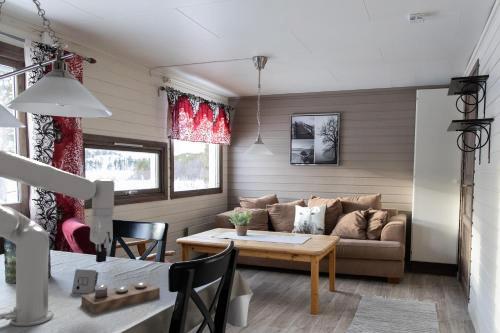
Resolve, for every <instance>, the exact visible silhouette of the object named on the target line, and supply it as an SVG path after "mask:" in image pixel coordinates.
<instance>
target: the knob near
mask: <svg viewBox="0 0 500 333" xmlns="http://www.w3.org/2000/svg"><path fill="white" fill-rule="evenodd" d="M107 290H109V288H108V284H106V283H101V284H97V285H96V286H95V291H94V293H95V298H97V299H101V298H106V297H107Z"/></svg>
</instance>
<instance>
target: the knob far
mask: <svg viewBox="0 0 500 333" xmlns="http://www.w3.org/2000/svg"><path fill="white" fill-rule="evenodd" d="M146 282H147V281H145V282H144V281H140V282H139V281H138V282H136V283H134V284H135V288H136V289H143V288H146Z"/></svg>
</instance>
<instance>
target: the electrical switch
mask: <svg viewBox="0 0 500 333" xmlns="http://www.w3.org/2000/svg"><path fill="white" fill-rule="evenodd" d="M98 279H99V272H98V271H97V270H96V269H84V268H83V269H82V268H77V269H75V273H74V277H73V282H72V288H71V289H72V290H71V291H72V293H78V294H91V293H94V292H95V286H96V285H98V284H97V283H98Z"/></svg>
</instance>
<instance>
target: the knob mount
mask: <svg viewBox="0 0 500 333" xmlns="http://www.w3.org/2000/svg"><path fill="white" fill-rule="evenodd" d="M143 282H146V288H143V289H136V288H135V283H132V284H126V285H125V286H126V287H128V292H126V293H122V294H118V293H116V288H117V287H114V288H108V289H107V297H106V298H101V299H97V298H95V292H93V293H91V294H88V293H86V294H83V295H81V297H80V298H81V304H80V305H81V306H82V307H83V308H84V309H87V310H88V311H89V312H91V313H92V314H93V315H96V313H97V314H101V313H104V312H106V311H107V312H108V311H111V310H115V309H119V308H122V307H126V306H130V305H133V304H138V303H141V302H145V301H149V300H153V299H156V298H160V295H161V291H160V289H161V288H160V287H158V286H156V285H155V284H152V283H149V282H148V281H143Z"/></svg>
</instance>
